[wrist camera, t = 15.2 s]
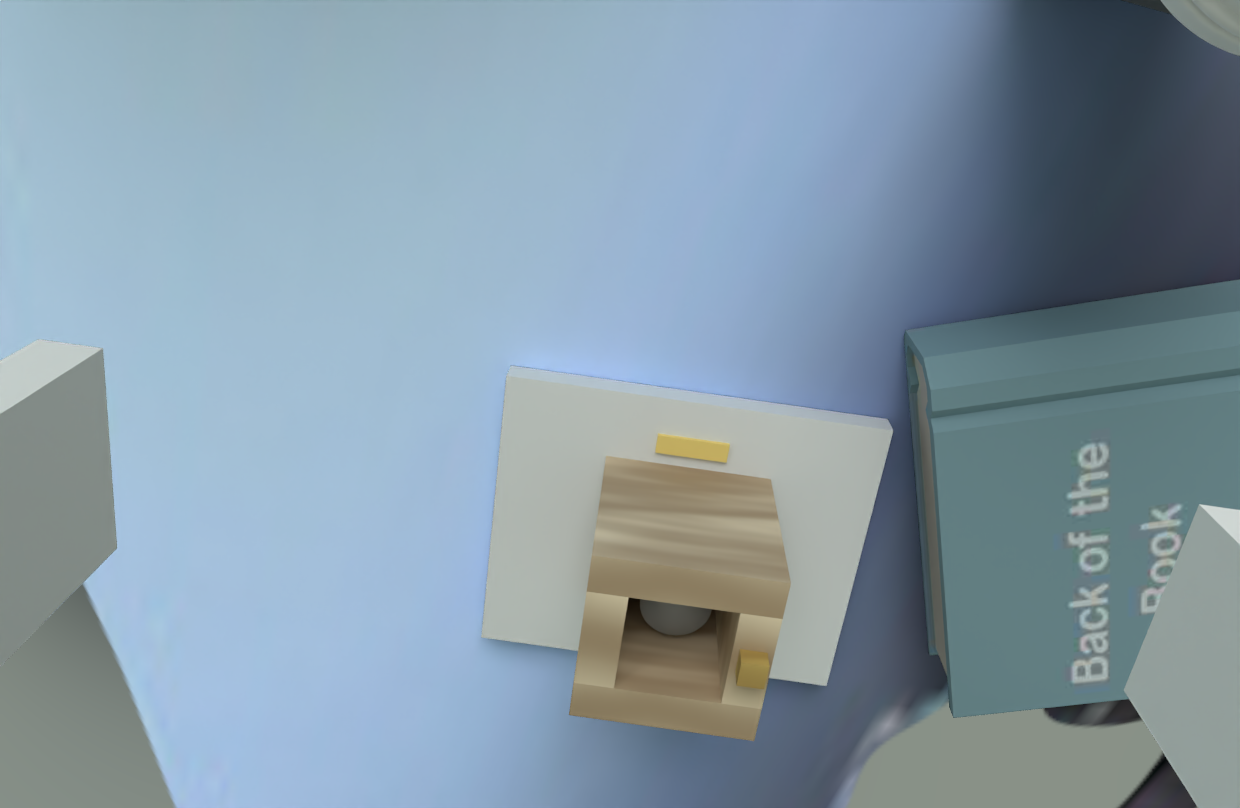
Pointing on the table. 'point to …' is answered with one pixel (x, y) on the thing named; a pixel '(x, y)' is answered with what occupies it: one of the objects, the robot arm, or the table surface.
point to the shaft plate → (682, 436)
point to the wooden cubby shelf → (681, 599)
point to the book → (1066, 484)
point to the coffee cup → (1204, 19)
